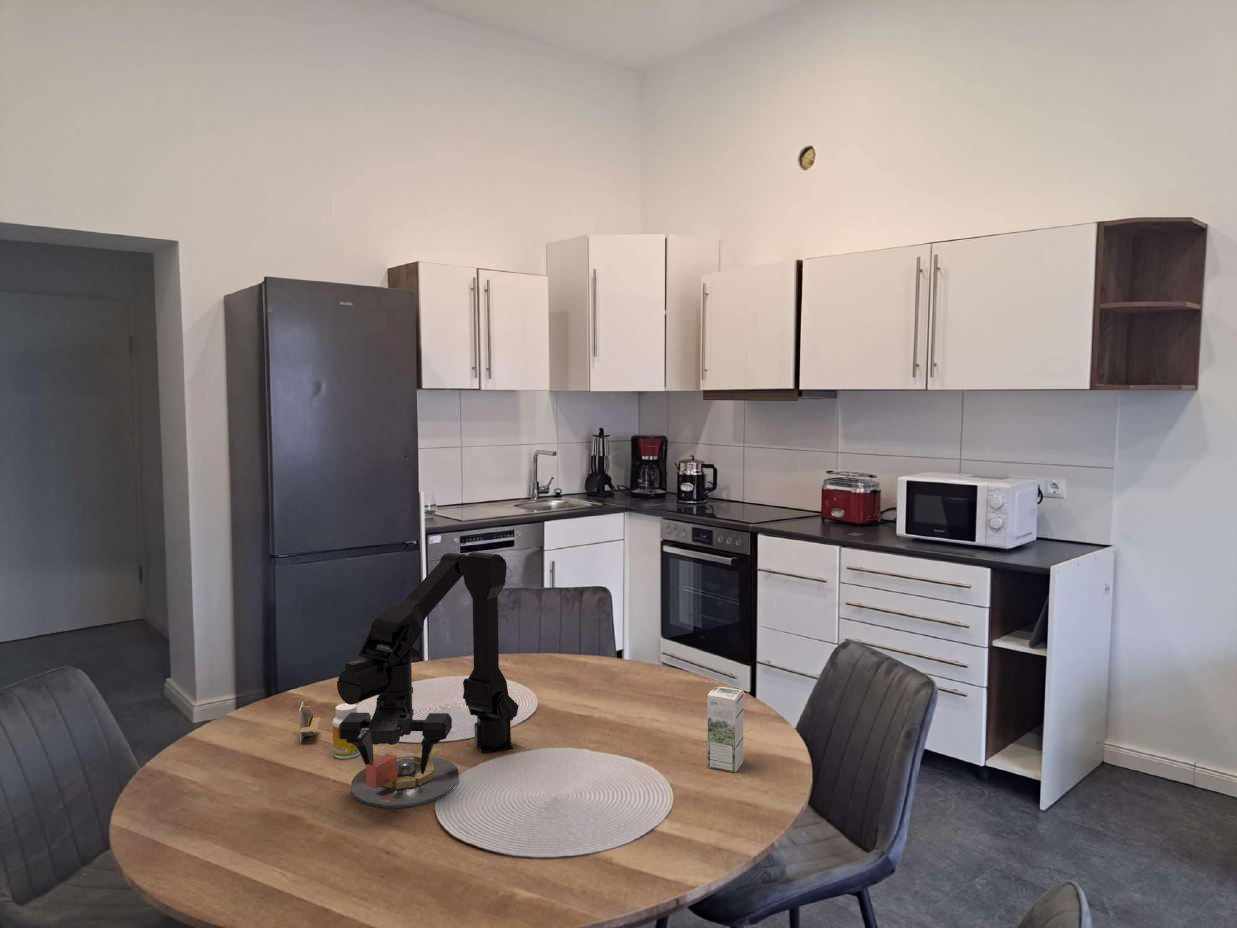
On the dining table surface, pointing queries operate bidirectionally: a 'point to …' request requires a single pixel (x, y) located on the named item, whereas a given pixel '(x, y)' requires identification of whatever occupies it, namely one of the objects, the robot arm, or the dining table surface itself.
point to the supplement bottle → (339, 745)
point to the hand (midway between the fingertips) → (396, 772)
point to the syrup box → (725, 728)
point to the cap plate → (411, 796)
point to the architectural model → (307, 721)
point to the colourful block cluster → (396, 772)
